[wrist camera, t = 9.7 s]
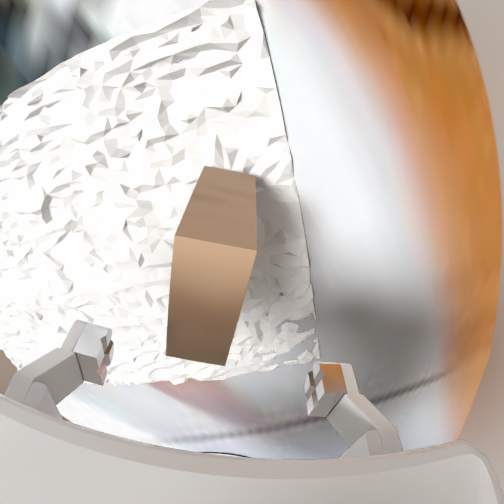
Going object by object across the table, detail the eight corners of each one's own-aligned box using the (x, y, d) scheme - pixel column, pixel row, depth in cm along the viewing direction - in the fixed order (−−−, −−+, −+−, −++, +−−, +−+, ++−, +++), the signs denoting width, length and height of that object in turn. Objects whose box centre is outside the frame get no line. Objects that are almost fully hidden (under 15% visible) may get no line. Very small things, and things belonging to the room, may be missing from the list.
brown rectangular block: (234, 271, 22) (228, 366, 15) (189, 263, 22) (165, 355, 15) (257, 176, 18) (260, 251, 12) (204, 165, 18) (174, 235, 11)
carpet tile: (254, -3, 14) (254, -11, 12) (320, 354, 30) (323, 371, 28) (-86, 185, 19) (-97, 193, 17) (30, 373, 35) (25, 384, 33)
